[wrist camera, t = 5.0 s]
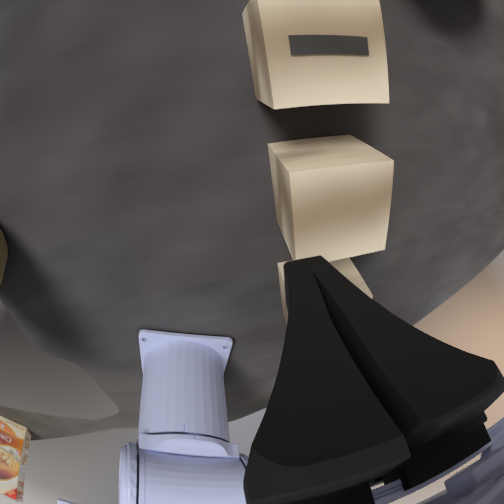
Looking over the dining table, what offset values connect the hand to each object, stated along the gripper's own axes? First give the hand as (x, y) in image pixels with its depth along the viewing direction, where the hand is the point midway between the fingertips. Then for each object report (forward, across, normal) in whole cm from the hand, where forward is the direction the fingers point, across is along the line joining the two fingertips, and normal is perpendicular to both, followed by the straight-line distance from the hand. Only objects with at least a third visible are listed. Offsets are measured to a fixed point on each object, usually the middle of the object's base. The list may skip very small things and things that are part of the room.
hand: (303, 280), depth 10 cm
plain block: (+8, -3, 0) cm, 9 cm away
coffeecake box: (+9, +64, +39) cm, 75 cm away
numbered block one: (+8, -3, -8) cm, 12 cm away
